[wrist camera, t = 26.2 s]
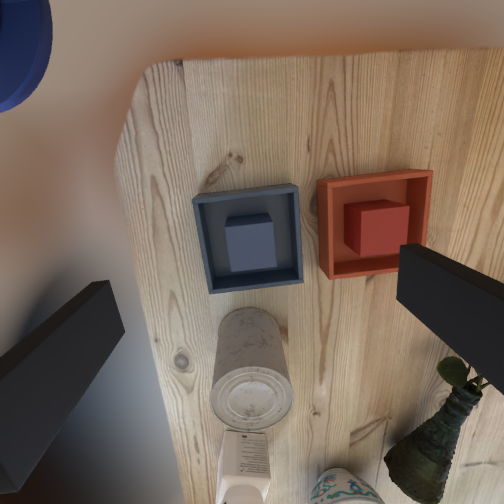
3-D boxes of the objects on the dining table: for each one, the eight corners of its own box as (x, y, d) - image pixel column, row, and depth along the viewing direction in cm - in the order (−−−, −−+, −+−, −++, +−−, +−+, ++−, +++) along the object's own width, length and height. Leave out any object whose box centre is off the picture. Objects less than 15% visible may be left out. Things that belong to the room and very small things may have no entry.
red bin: (316, 180, 35) (327, 182, 31) (410, 168, 35) (433, 170, 31) (319, 267, 39) (329, 280, 35) (403, 256, 39) (423, 268, 35)
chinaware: (363, 443, 51) (383, 490, 44) (379, 491, 56) (400, 541, 48) (287, 466, 52) (295, 515, 45) (309, 511, 57) (319, 563, 49)
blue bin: (197, 194, 35) (191, 198, 31) (291, 183, 35) (298, 186, 31) (212, 279, 39) (209, 294, 35) (296, 269, 39) (303, 283, 35)
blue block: (226, 217, 36) (224, 227, 30) (268, 212, 36) (273, 221, 31) (232, 256, 37) (231, 272, 32) (271, 251, 37) (277, 266, 32)
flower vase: (385, 412, 59) (463, 269, 46) (489, 482, 49) (623, 326, 37) (363, 468, 47) (461, 296, 34) (495, 576, 37) (699, 391, 25)
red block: (343, 203, 36) (361, 211, 31) (385, 199, 36) (409, 205, 31) (343, 243, 38) (360, 257, 32) (383, 238, 38) (406, 251, 32)
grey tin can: (205, 337, 42) (191, 405, 30) (246, 295, 40) (248, 351, 28) (251, 369, 44) (255, 443, 33) (292, 331, 42) (311, 396, 31)
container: (259, 463, 52) (265, 558, 39) (218, 459, 51) (211, 555, 38) (267, 433, 49) (275, 524, 37) (224, 429, 48) (219, 521, 36)
